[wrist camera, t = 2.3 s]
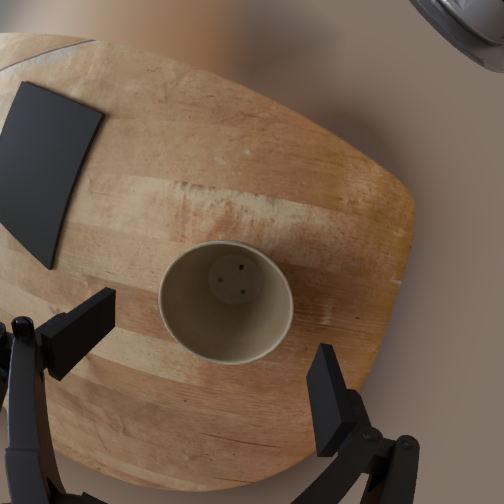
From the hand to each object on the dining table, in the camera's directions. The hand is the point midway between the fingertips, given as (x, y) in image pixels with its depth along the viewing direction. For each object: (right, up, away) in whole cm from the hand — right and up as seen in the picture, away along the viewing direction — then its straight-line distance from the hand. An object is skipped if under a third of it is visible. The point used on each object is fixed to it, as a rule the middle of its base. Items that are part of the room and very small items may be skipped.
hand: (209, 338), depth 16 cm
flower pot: (+1, +3, +11) cm, 11 cm away
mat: (-27, +16, +9) cm, 33 cm away
